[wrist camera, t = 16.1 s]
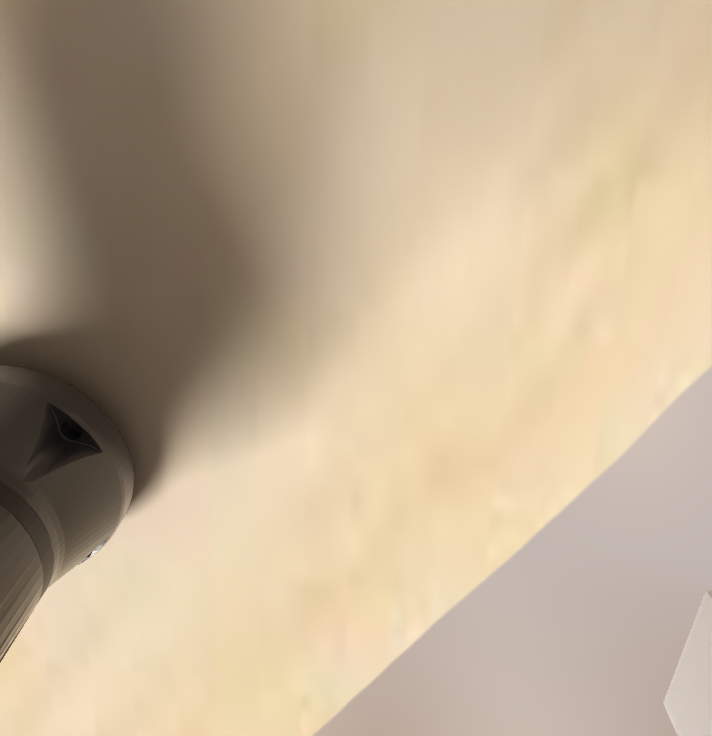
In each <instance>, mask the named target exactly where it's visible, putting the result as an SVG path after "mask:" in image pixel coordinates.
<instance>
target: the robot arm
mask: <svg viewBox="0 0 712 736" xmlns="http://www.w3.org/2000/svg"><path fill="white" fill-rule="evenodd" d="M133 489H134V471H133V465H132V460H131V456H130V453H129V450H128V448H127V445H126V443H125V441H124V439H123V437H122V435H121V433H120V432H119V430H118V429H117V427H116V426H115V424H114V423H113V422H112V420H111V419H110V418H109V417H108V415H107V414H106V413H105V412H104V411H103V410H102V409H101V408H100V407H99V406H98V405H97V404H96V403H95V402H94V401H93V400H91V399H90V398H89V397H88V396H86V395H85V394H84V393H82V392H81V391H79V390H78V389H76V388H75V387H73V386H71V385H70V384H68V383H66V382H64V381H62V380H60V379H58V378H56V377H53V376H51V375H48V374H45V373H42V372H39V371H36V370H32V369H27V368H22V367H15V366H0V662H1V661H2V659H3V658H4V656H5V654H6V653H7V651H8V650H9V648H10V646H11V645H12V643H13V642H14V640H15V638H16V637H17V635H18V634H19V632H20V630H21V629H22V627H23V626H24V624H25V622H26V621H27V619H28V618H29V616H30V614H31V613H32V611H33V610H34V608H35V606H36V605H37V603H38V602H39V600H40V599H41V597H42V595H43V594H44V592H45V591H46V589H47V588H48V587H49V586H50V585H52V584H53V583H54V582H56V581H57V580H58V579H59V578H61V577H62V576H63V575H65V574H66V573H67V572H68V571H70V570H71V569H72V568H73V567H75V566H76V565H78V564H80V563H82V562H84V561H85V560H87V559H88V558H90V557H91V556H92V555H94V554H95V553H96V552H98V551H99V550H100V549H101V548H102V547H103V546H104V545H105V544H106V543H107V542H108V540H109V539H110V538H111V537H112V535H113V534H114V532H115V531H116V529H117V527H118V526H119V524H120V522H121V520H122V519H123V517H124V515H125V514H126V512H127V510H128V508H129V505H130V502H131V499H132V495H133ZM663 704H664V706H665V709H666V711H667V713H668V715H669V717H670V720H671V722H672V724H673V726H674V729H675V731H676V733H677V735H678V736H712V591H710V590H706V592H705V594H704V597H703V599H702V602H701V605H700V607H699V610H698V613H697V615H696V618H695V620H694V623H693V626H692V628H691V631H690V634H689V636H688V639H687V642H686V644H685V647H684V649H683V652H682V655H681V657H680V660H679V663H678V666H677V668H676V671H675V673H674V676H673V678H672V681H671V684H670V686H669V689H668V692H667V694H666V697H665V699H664V702H663Z"/></svg>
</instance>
